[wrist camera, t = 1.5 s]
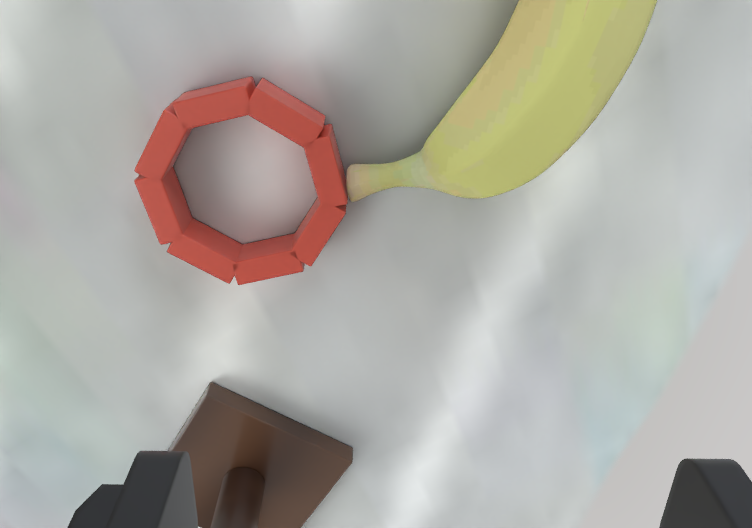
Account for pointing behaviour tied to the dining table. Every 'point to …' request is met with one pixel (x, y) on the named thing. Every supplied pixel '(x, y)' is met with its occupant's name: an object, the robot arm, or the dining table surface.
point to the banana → (522, 100)
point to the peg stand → (256, 463)
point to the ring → (210, 245)
